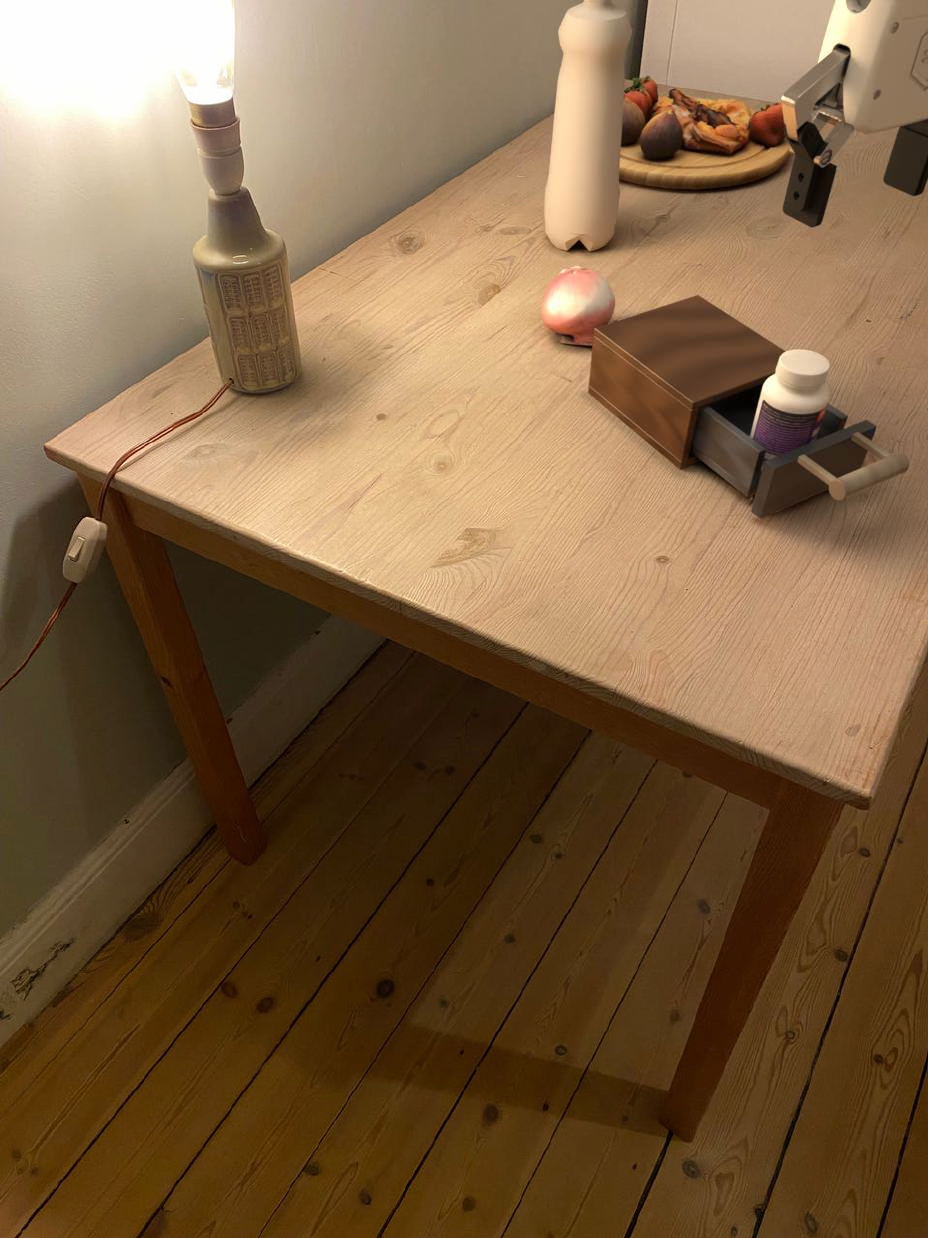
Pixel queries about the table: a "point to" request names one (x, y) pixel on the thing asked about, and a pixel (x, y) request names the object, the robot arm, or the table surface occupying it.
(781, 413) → the pill bottle
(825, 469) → the drawer
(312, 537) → the table surface
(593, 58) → the bottle
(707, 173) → the wooden plate
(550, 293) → the onion
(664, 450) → the cabinet
